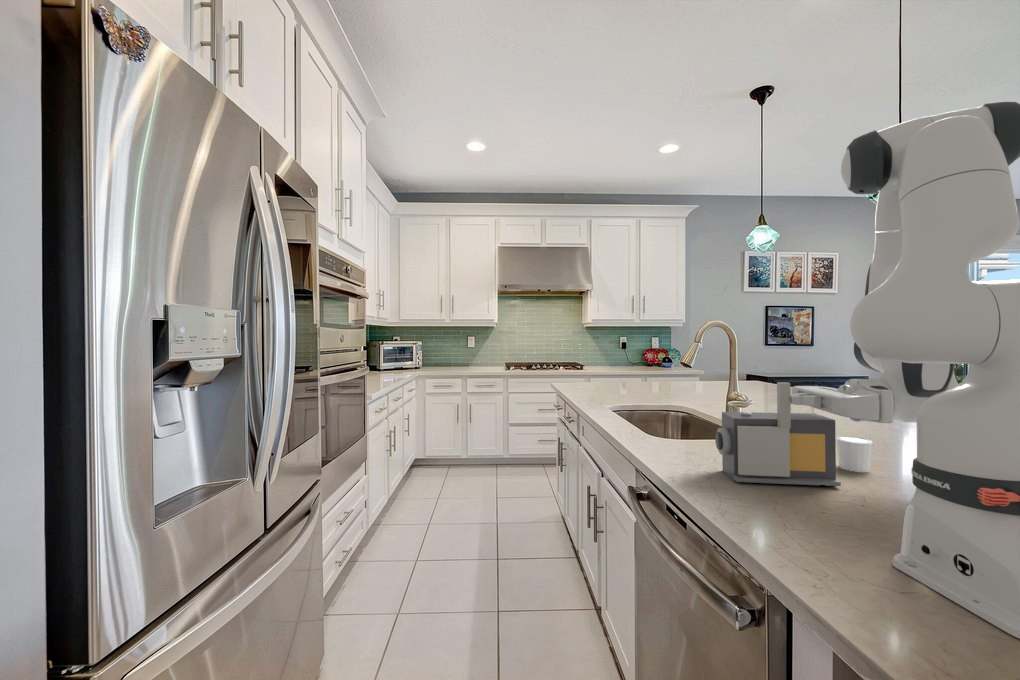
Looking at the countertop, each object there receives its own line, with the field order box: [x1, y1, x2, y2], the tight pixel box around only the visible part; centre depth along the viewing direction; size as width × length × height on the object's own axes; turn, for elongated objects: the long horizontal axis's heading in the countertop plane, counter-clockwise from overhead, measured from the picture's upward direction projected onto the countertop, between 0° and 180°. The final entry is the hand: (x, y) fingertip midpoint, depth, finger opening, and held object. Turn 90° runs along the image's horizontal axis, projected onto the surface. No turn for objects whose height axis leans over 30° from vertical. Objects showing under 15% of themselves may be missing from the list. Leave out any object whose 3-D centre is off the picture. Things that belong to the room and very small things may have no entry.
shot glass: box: [835, 436, 873, 473], centre depth 100 cm, size 7×7×7 cm
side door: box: [737, 382, 792, 477], centre depth 90 cm, size 1×10×20 cm, turn 80°
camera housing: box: [714, 411, 842, 487], centre depth 94 cm, size 10×22×15 cm, turn 80°
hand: (789, 399), depth 89 cm, fingers closed, pressing on side door
